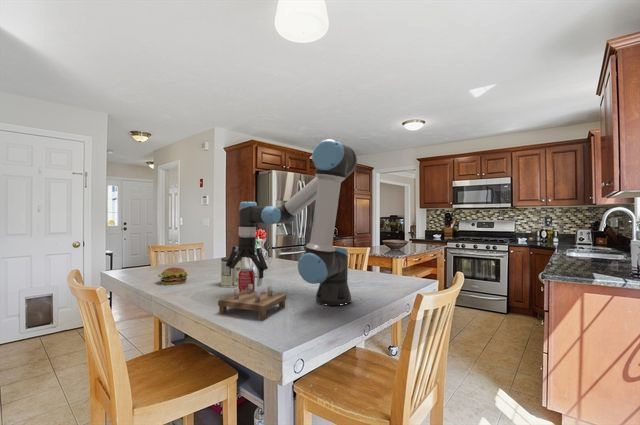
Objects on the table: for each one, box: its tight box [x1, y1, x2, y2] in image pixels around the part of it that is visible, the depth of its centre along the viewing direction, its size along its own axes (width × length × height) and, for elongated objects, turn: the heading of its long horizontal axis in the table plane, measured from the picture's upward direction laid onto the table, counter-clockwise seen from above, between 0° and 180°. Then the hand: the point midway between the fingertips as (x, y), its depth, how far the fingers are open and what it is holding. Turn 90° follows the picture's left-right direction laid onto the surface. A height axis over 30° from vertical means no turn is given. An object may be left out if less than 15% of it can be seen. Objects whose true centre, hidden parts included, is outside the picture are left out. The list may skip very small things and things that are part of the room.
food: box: [157, 266, 188, 286], centre depth 164 cm, size 14×14×8 cm
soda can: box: [237, 268, 256, 292], centre depth 137 cm, size 7×7×12 cm
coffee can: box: [220, 256, 243, 289], centre depth 159 cm, size 10×10×14 cm
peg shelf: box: [217, 284, 287, 321], centre depth 117 cm, size 19×17×8 cm
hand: (245, 284), depth 137 cm, fingers open, 13 cm apart
